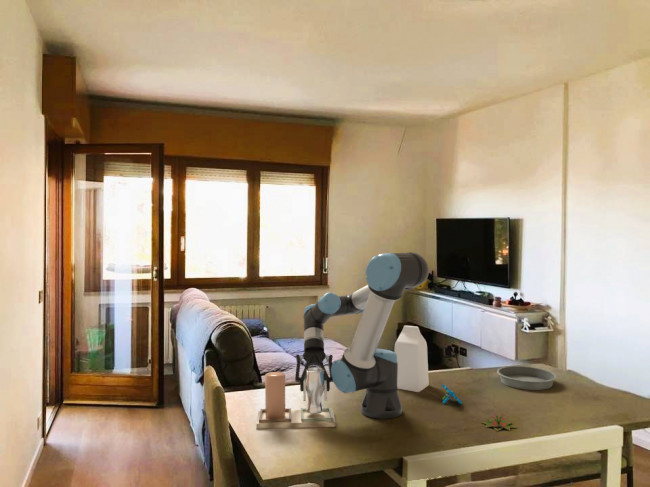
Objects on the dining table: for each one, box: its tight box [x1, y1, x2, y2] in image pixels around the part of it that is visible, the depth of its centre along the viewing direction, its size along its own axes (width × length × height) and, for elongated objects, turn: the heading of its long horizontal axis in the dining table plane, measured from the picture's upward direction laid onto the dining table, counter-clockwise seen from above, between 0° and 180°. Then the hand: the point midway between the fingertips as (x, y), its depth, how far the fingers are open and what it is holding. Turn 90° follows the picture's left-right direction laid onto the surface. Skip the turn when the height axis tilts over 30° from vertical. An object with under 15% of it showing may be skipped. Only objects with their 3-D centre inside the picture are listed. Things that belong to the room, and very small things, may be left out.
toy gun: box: [441, 383, 463, 405], centre depth 211 cm, size 11×6×10 cm
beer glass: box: [304, 366, 325, 414], centre depth 193 cm, size 7×7×15 cm
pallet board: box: [256, 407, 336, 429], centre depth 192 cm, size 27×13×3 cm, turn 94°
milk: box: [393, 325, 430, 393], centre depth 233 cm, size 12×12×26 cm
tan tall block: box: [264, 371, 286, 419], centre depth 191 cm, size 7×7×15 cm
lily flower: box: [480, 412, 518, 432], centre depth 187 cm, size 12×12×5 cm
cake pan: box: [496, 365, 558, 391], centre depth 239 cm, size 25×25×4 cm
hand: (315, 399), depth 189 cm, fingers closed on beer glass, 7 cm apart
